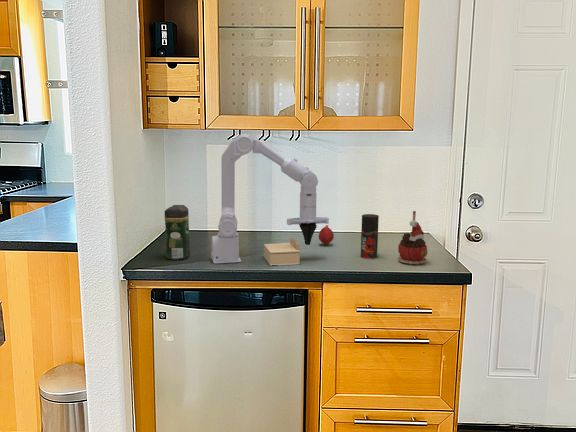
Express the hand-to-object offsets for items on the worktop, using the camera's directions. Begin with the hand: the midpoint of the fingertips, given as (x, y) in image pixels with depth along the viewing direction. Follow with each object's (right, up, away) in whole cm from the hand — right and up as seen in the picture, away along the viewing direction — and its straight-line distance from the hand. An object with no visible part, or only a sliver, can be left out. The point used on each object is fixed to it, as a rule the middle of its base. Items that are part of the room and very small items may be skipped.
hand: (307, 244), depth 194 cm
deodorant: (+22, -5, +5) cm, 23 cm away
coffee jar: (-46, -5, +3) cm, 46 cm away
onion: (+8, -2, +22) cm, 23 cm away
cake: (+36, -6, -2) cm, 37 cm away
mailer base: (-9, -6, -1) cm, 11 cm away
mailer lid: (-9, -1, -2) cm, 9 cm away
